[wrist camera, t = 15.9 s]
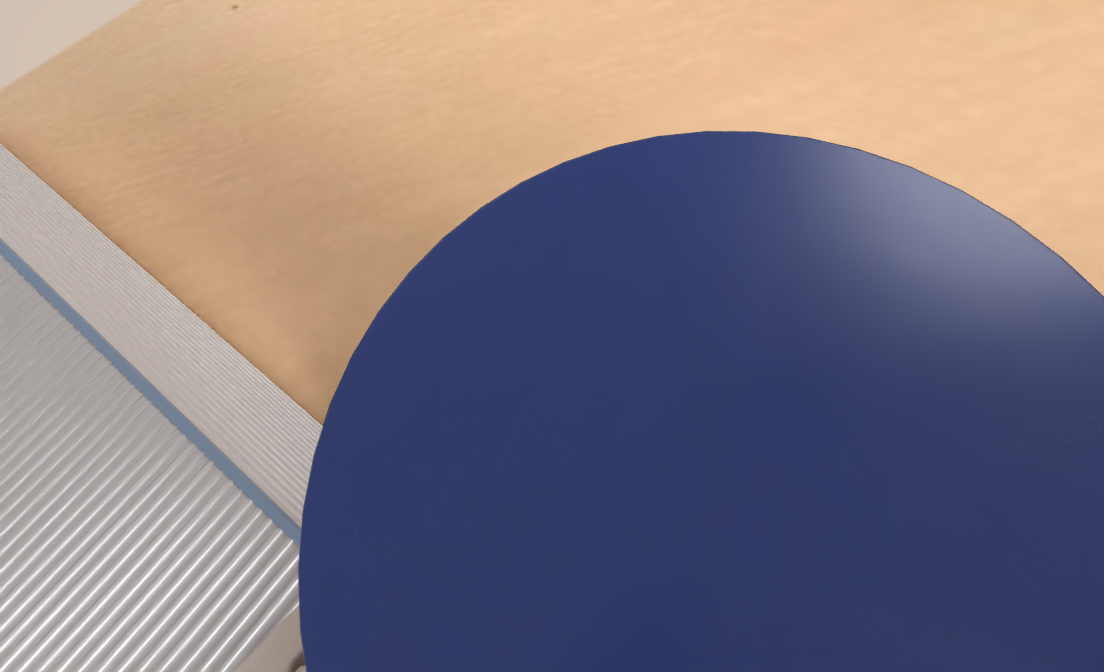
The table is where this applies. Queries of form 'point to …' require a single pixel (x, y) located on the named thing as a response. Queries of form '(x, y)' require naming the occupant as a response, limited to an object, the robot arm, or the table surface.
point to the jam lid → (717, 431)
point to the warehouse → (132, 462)
